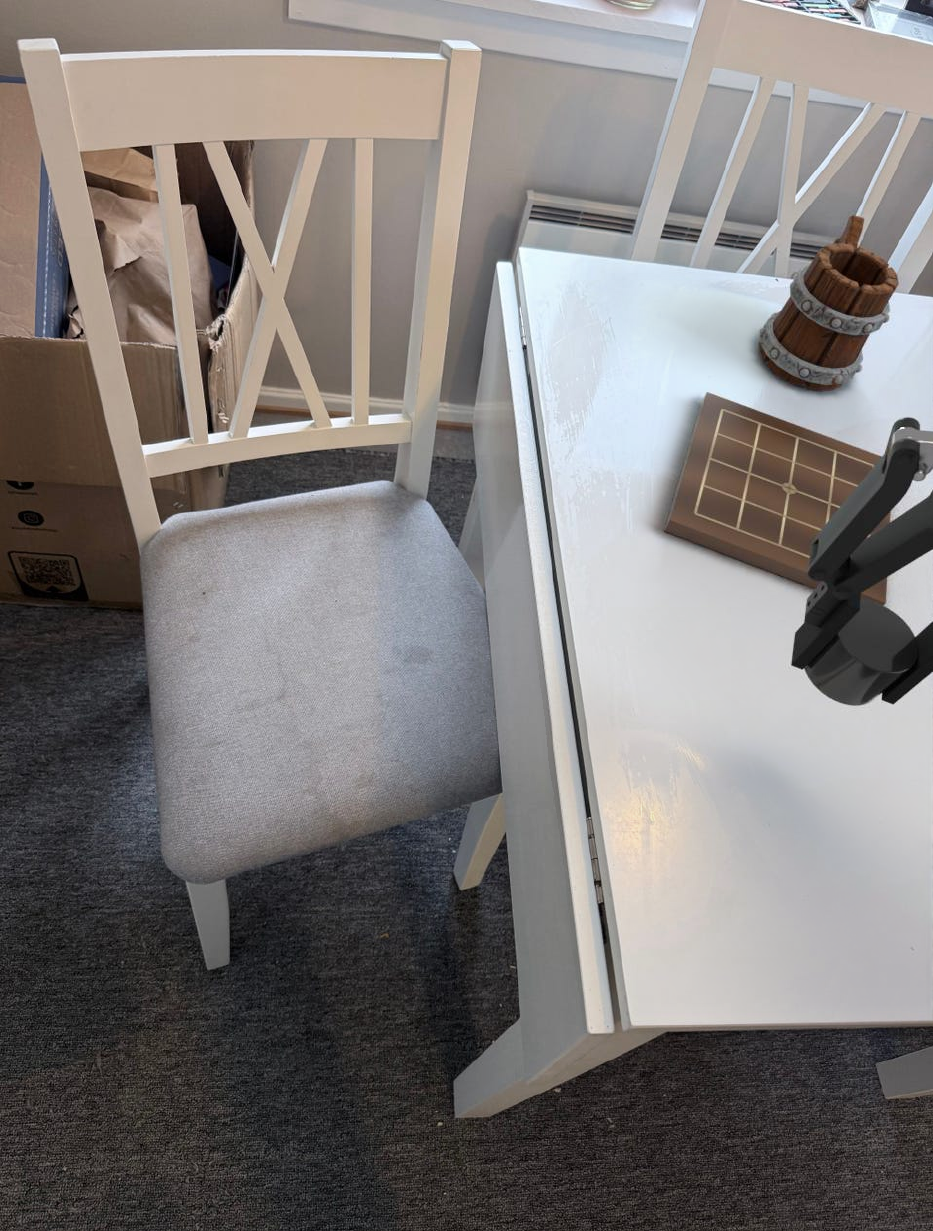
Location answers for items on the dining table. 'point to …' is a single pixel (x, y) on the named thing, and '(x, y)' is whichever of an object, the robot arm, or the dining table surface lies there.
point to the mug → (829, 314)
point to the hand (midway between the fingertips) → (843, 667)
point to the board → (764, 489)
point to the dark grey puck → (864, 656)
